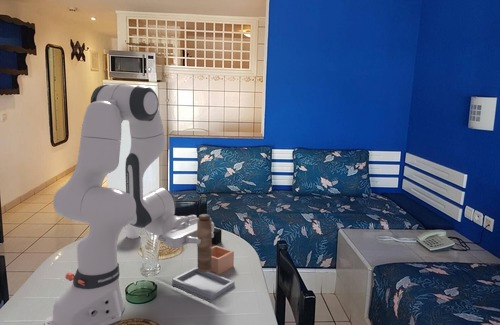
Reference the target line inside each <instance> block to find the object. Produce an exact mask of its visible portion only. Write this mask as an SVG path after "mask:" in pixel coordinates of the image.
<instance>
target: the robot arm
mask: <svg viewBox="0 0 500 325" xmlns="http://www.w3.org/2000/svg"><path fill="white" fill-rule="evenodd" d="M159 104H160V103H159V98H158V95H157V93H156V92H155V90H154V89H153V88H151V87H149V86H147V85H142V84H140V85H136V84H135V85H134V84H126V83H116V84H103V85H100V86H98V87H96V88H95V89H94V90H93V92H92V94H91V97H90V103H89V104H88V106H87V107H86V109H85V110H86V111H85V112H84V113H85V114H84V117H83V121H82V125H81V129H80V130H81V131H80V140H79V148H78V149H79V150H78V156H77V160H76V164H75V168H74V171H73V173H72V174H71V177H70V178H69V180H68V181H66V183H65V184H64V185H63V186H61V187H60V188H59V189H58V190H57V191H56V193H55V194H54V196H53V197H54V198H53V209H54V211H55V213H56V214H57V215H59V216H61V217H63V218H65V219H67V220H69V221H73V222H78V223H85V224H88V226H89V233H88V234H87V235H85V236H84V237H83V238H81V240H80V239H79V242H78V243H77V246H76V257H77V258H76V259H77V269H76V271H75V273H72V272H69V271H68V272H67V273H65V279H66V280H68V281H70V282H71V281H72V283H71V284H70V286H69V287H68V288H66V290H65V291H64V292H63V293H62V294H61V295H60V297H59V298H57V300H56V301H55V302H54V304H53V309H52V315H50V316H48V317H47V318H45V320H44V325H112V324H114V323H117V322H120V321H121V320H122V317H123V316H122V314H123V311H124V310H125V307H126V304H125V301H124V298H123V295H122V292H121V287H120V281H119V278H120V264H119V263H118V240H119V236H120V234H121V232H122V230H123V229H125V226H126V225H128V224H131V225H132V226H135V227H139V228H142V229H145V230H146V231H147V232H149V233H150V234H152V235H154V236H155V235H156V236H157V239H158V241H159V242H163V243H162V244H164V245H165V246H167V247H169V248H171V249H178V248H180V247H182V246H185V245H187V244H196V245H197V244H200V243H201V242H202V241H201V240H202V239H201V238H199V237H197V219H198V218H199V217H197V215H196V214H190V215H175V214H176V198H175V196H174V194H173V193H172V192H171V190H168V189H167V188H165V187H157V188H155V189H154V190H150V191H149V192H148V193H146V194H144V175H145V172H146V170H148V168H149V167H150V166H151V165H152V164H153V163H154V162H155V161H156V160H158V158H160V156H161V155H162V154H163V152H164V150H165V146H166V138H165V137H166V136H165V131H164V126H163V121H162V117H161V113H160V111H159ZM124 121H128V123H129V124H128V126H129V133H130V149H129V153H128V155H127V157H126V158H125V169H124V170H125V191H124V190H121V189H118V188H115V187H113V188H112V187H104V186H103V183H104V180H105V178H106V177H107V175H108V174H110V173H112V172H114V171H115V170H117V168H118V167H119V165H120V164H119V163H120V153H121V145H122V144H121V143H122V142H121V141H122V123H123V122H124ZM214 228H215V223H214V222H213V221H212V238H213V237H214V233H213V232H214Z"/></svg>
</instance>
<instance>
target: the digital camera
mask: <svg viewBox="0 0 500 325" xmlns="http://www.w3.org/2000/svg"><path fill="white" fill-rule="evenodd" d="M222 230H223V229H222V228H221V229H220V228H217V227H214V232H213V233H214V237H213V238H212V245H213V246H218V245H219V244H221V243H222V237H223V236H222V234H223V233H222Z"/></svg>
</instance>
